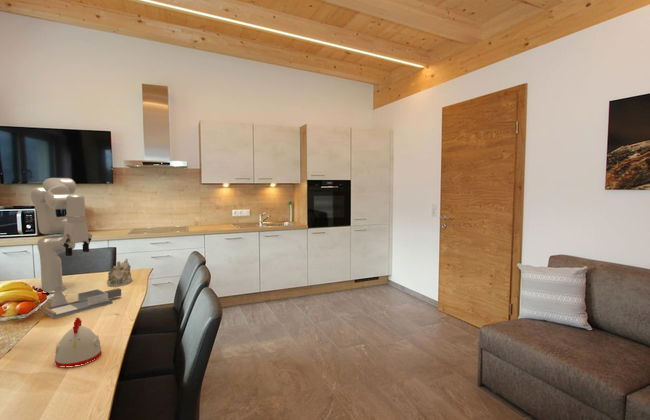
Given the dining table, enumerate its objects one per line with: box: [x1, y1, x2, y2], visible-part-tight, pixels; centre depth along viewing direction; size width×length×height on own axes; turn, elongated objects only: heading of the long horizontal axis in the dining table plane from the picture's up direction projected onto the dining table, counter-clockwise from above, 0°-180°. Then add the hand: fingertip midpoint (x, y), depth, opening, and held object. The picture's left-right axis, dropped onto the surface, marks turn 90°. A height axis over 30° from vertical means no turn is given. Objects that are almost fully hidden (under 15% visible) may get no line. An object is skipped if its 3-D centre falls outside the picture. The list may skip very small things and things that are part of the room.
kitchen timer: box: [54, 317, 102, 367], centre depth 129 cm, size 14×14×15 cm
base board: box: [42, 299, 114, 319], centre depth 178 cm, size 13×26×2 cm, turn 145°
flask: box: [49, 286, 69, 308], centre depth 180 cm, size 7×7×10 cm
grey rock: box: [106, 258, 133, 288], centre depth 220 cm, size 16×16×15 cm
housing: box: [77, 287, 122, 306], centre depth 187 cm, size 12×18×4 cm, turn 145°
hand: (77, 253), depth 176 cm, fingers open, 9 cm apart
